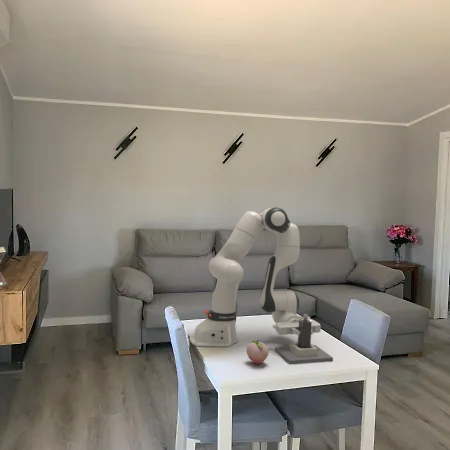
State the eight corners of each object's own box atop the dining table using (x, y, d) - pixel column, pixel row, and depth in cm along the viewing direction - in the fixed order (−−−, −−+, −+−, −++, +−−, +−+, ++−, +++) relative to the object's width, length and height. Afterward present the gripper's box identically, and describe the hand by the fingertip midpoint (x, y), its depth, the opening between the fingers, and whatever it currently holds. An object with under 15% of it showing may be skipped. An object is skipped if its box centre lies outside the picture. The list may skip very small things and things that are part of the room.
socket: (289, 364, 192) (289, 353, 192) (274, 350, 207) (275, 341, 207) (332, 361, 198) (333, 350, 197) (315, 348, 213) (315, 338, 213)
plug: (301, 350, 200) (303, 315, 199) (297, 347, 204) (299, 313, 203) (310, 349, 201) (311, 315, 200) (306, 346, 205) (307, 313, 204)
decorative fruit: (272, 365, 190) (273, 341, 189) (256, 369, 185) (257, 344, 184) (258, 358, 198) (259, 335, 197) (242, 361, 193) (243, 337, 192)
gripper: (271, 318, 211) (283, 327, 198) (312, 316, 217) (326, 324, 204) (270, 331, 212) (282, 341, 198) (311, 329, 217) (326, 339, 204)
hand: (305, 333), depth 201 cm, fingers closed on plug, 4 cm apart
